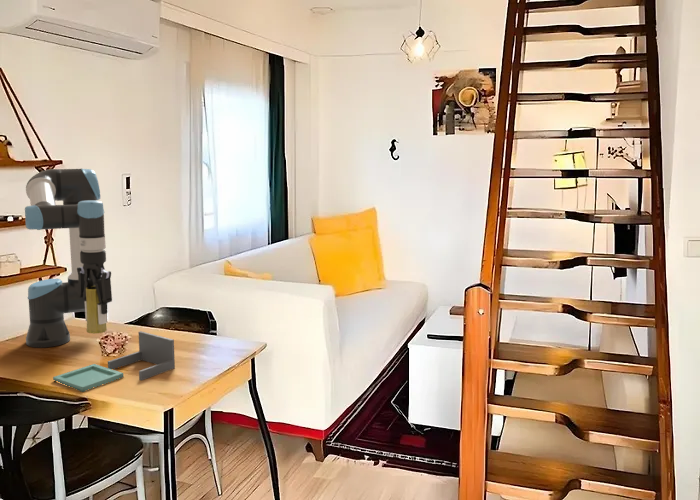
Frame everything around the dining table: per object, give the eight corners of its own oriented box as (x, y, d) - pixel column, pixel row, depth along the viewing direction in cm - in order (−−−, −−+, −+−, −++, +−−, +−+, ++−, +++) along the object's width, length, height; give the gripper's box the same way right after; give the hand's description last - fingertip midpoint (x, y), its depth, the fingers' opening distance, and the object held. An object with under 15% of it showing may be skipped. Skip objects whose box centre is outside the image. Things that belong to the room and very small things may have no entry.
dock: (108, 370, 218) (106, 341, 217) (141, 358, 230) (140, 331, 228) (141, 380, 209) (140, 350, 208) (174, 368, 221) (173, 339, 219)
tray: (53, 381, 207) (53, 377, 207) (94, 368, 220) (94, 363, 220) (82, 391, 199) (82, 387, 199) (123, 377, 212) (123, 373, 212)
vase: (91, 327, 212) (88, 285, 210) (109, 328, 212) (107, 285, 210) (83, 333, 206) (81, 289, 204) (102, 333, 206) (100, 289, 204)
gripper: (63, 248, 206) (67, 319, 210) (102, 255, 197) (105, 329, 201) (83, 245, 212) (87, 314, 216) (122, 251, 203) (125, 323, 207)
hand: (96, 321), depth 208 cm, fingers closed on vase, 6 cm apart
